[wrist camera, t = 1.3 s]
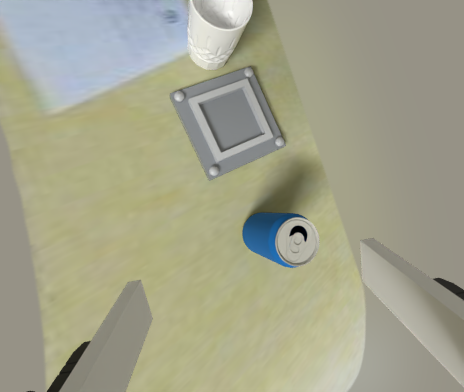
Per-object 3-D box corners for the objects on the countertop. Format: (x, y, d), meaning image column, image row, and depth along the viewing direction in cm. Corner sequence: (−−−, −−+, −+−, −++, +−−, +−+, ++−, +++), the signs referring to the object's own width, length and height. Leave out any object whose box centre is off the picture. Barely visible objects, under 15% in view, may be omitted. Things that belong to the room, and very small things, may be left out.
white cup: (241, 55, 41) (265, 7, 31) (208, 84, 39) (222, 43, 30) (208, 16, 40) (222, -46, 30) (172, 44, 38) (175, -12, 28)
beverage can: (283, 219, 41) (328, 223, 30) (271, 257, 40) (314, 276, 29) (248, 207, 40) (282, 205, 28) (235, 245, 39) (265, 261, 27)
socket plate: (169, 97, 37) (169, 90, 35) (248, 70, 41) (252, 62, 39) (209, 181, 38) (211, 179, 36) (282, 147, 42) (288, 144, 40)
